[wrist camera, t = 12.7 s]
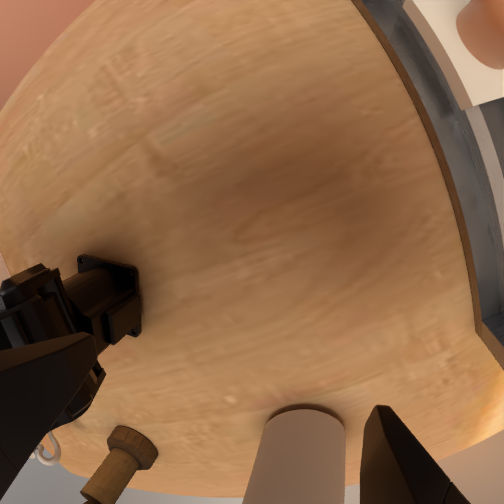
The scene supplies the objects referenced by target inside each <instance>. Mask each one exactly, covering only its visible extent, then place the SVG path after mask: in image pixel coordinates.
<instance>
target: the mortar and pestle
mask: <svg viewBox="0 0 504 504" xmlns="http://www.w3.org/2000/svg"><path fill="white" fill-rule="evenodd" d="M107 444H108V447H109V450H110V453H109V454H108V456H107V457H106V458H105V460H104V461H103V463H102V464H101V465H100V467H99V468H98V469H97V471H96V472H95V473H94V474H93V476H92V477H91V478H90V480H89V481H88V482H87V484H86V485H85V486H84V488H83V489H82V490H81V491H80V493H81V494H82V496H83V497H85V498H86V499H87V500H88V501H86V502H85V503H84V504H115V503H116V501H117V500H118V498H119V496H120V495H121V493H122V492H123V490H124V489H125V487H126V486H127V484H128V483H129V481H130V480H131V478H132V477H133V475H134V474H135V472H136V471H137V470H148V469H150V468H151V466H152V465H153V463H154V462H155V460H156V458H157V456H158V453H157V450H156V449H155V447H154V446H153V444H152V443H151V442H150V441H149V440H148V439H146V438H145V437H144V436H142V435H141V434H140V433H138V432H136V431H134V430H132V429H130V428H127V427H123V426H118V427H116V428H115V429H114V430H113V432H112V433H111V435H110V436H109V437H108V439H107Z"/></svg>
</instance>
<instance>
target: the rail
mask: <svg viewBox="0 0 504 504" xmlns="http://www.w3.org/2000/svg"><path fill="white" fill-rule="evenodd" d="M351 1H352V2H353V3H354V5H355V6H356V7H357V9H358V10H359V11H360V13H361V14H362V16H363V17H364V19H365V20H366V21H367V23H368V24H369V26H370V27H371V29H372V30H373V32H374V33H375V35H376V36H377V38H378V40H379V41H380V43H381V44H382V46H383V48H384V49H385V51H386V53H387V54H388V56H389V58H390V59H391V61H392V63H393V65H394V66H395V68H396V70H397V72H398V73H399V75H400V77H401V79H402V81H403V83H404V85H405V87H406V89H407V91H408V93H409V95H410V97H411V99H412V101H413V103H414V105H415V107H416V109H417V111H418V113H419V116H420V118H421V120H422V122H423V124H424V127H425V129H426V131H427V134H428V136H429V139H430V141H431V144H432V146H433V149H434V151H435V154H436V157H437V159H438V162H439V165H440V168H441V170H442V173H443V176H444V179H445V182H446V185H447V188H448V192H449V195H450V198H451V202H452V205H453V209H454V212H455V216H456V219H457V223H458V227H459V231H460V235H461V240H462V244H463V249H464V253H465V258H466V264H467V269H468V275H469V281H470V287H471V294H472V301H473V309H474V318H475V329H476V333H477V334H478V336H479V337H480V338H481V340H482V341H483V342H484V344H485V345H486V346H487V348H488V349H489V350H490V352H491V353H492V355H493V356H494V357H495V359H496V360H497V362H498V363H499V365H500V366H501V367H502V369H503V370H504V97H502V98H499V99H496V100H492V101H489V102H486V103H483V104H480V105H476V106H473V107H470V108H467V109H464V110H460V107H459V105H458V103H457V101H456V98H455V96H454V94H453V92H452V90H451V88H450V86H449V84H448V82H447V80H446V78H445V76H444V74H443V72H442V70H441V68H440V66H439V64H438V63H437V61H436V59H435V57H434V55H433V54H432V52H431V50H430V49H429V47H428V45H427V44H426V42H425V40H424V39H423V37H422V35H421V34H420V32H419V31H418V29H417V28H416V26H415V25H414V23H413V22H412V20H411V19H410V17H409V16H408V14H407V13H406V11H405V10H404V9H403V7H402V6H403V4H404V2H405V0H351Z"/></svg>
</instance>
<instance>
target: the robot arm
mask: <svg viewBox="0 0 504 504" xmlns="http://www.w3.org/2000/svg"><path fill="white" fill-rule="evenodd" d="M82 260H83V261H82ZM77 263H78V274H76V275H74V276H72V277H70V278H68V279H66V280H64V281H62V280H61V278H60V275H61V274H60V272H59V269H58V268H55V269H53V270H50V268H49V269H48V268H46V267H45V266H44V265H43V264H42V263H40V264H38V265H36V266H33V267H31V268H29V269H27V270H24V271H22V272H20V273H18V274H16V275H14V276H12V277H10V278H8V279H6V280H4V281H2V283H1V286H0V501H1V499H2V497H3V496H4V494H5V493H6V491H7V490H8V488H9V487H10V485H11V484H12V482H13V481H14V479H15V478H16V476H17V475H18V473H19V471H20V470H21V469H22V467H23V466H24V464H25V463H26V461H27V460H28V459H29V457H30V456H31V454H32V453H33V451H34V450H35V449H36V447H37V446H38V444H39V443H40V442H41V440H42V439H43V438H44V436H45V435H46V434H47V433H48V432H50V431H51V430H53V429H55V428H57V427H59V426H61V425H64V424H67V423H70V422H72V421H74V420H75V419H77V418H79V417H80V416H81V415H83V414H84V413H85V412H86V411H87V410H88V408H89V407H90V405H91V403H92V401H93V399H94V397H95V395H96V393H97V391H98V389H99V387H100V385H101V384H102V382H103V380H104V378H105V376H106V373H105V371H104V369H103V368H101V366H100V364H99V362H98V360H97V356H98V355H99V354H100V353H101V352H103V351H104V350H105V349H106V348H107V347H108V346H109V345H110V344H111V345H115V344H116V343H117V342H118V341H120V340H121V339H122V338H123V337H124V336H125V335H126V334H127V335H130V336H133V337H138V336H139V335H140V333H141V328H140V321H141V316H140V297H139V294H138V272H137V269H136V268H135V267H133V266H129V265H125V264H121V263H116V262H112V261H108V260H104V259H100V258H96V257H92V256H88V255H84V254H82V255H80V256H78V258H77ZM130 271H131V272H132V274H133V275H132V274H131V273H130ZM134 330H135V331H134ZM360 504H471V503H470V502H469V501H468V500H467V499H466V498H465V497H464V495H463V494H462V493H461V492H460V491H459V490H458V488H457V487H456V486H455V485H454V484H453V482H450V479H449V478H448V476H447V475H446V474H445V473H444V471H443V470H442V469H441V468H440V467H439V465H438V464H437V463H436V462H435V461H434V459H433V458H432V457H431V456H430V454H429V453H428V452H427V451H426V450H425V448H424V447H423V446H422V445H421V444H420V442H419V441H418V440H417V439H416V437H415V436H414V435H413V434H412V433H411V431H410V430H409V429H408V428H407V427H406V425H405V424H404V423H403V422H402V421H401V419H400V418H399V417H398V416H397V415H396V413H395V412H394V411H393V410H392V408H391V407H390V406H387V405H376V406H375V407H374V408H373V410H372V412H371V414H370V416H369V418H368V420H367V422H366V424H365V427H364V437H363V448H362V458H361V468H360Z"/></svg>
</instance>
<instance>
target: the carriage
mask: <svg viewBox="0 0 504 504" xmlns="http://www.w3.org/2000/svg"><path fill="white" fill-rule="evenodd" d="M402 7H403V9H404V10H405V11H406V13H407V14H408V16H409V17H410V19H411V20H412V22H413V23H414V25H415V26H416V28H417V29H418V31H419V32H420V34H421V35H422V37H423V39H424V40H425V42H426V44H427V45H428V47H429V49H430V50H431V52H432V54H433V55H434V57H435V59H436V61H437V63H438V64H439V66H440V68H441V70H442V72H443V74H444V76H445V78H446V80H447V82H448V84H449V86H450V88H451V90H452V92H453V94H454V96H455V98H456V101H457V103H458V105H459V107H460V110H464V109H467V108H470V107H473V106H476V105H480V104H483V103H486V102H489V101H492V100H496V99H499V98H502V97H504V0H405V2H404V4H403V6H402Z"/></svg>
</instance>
